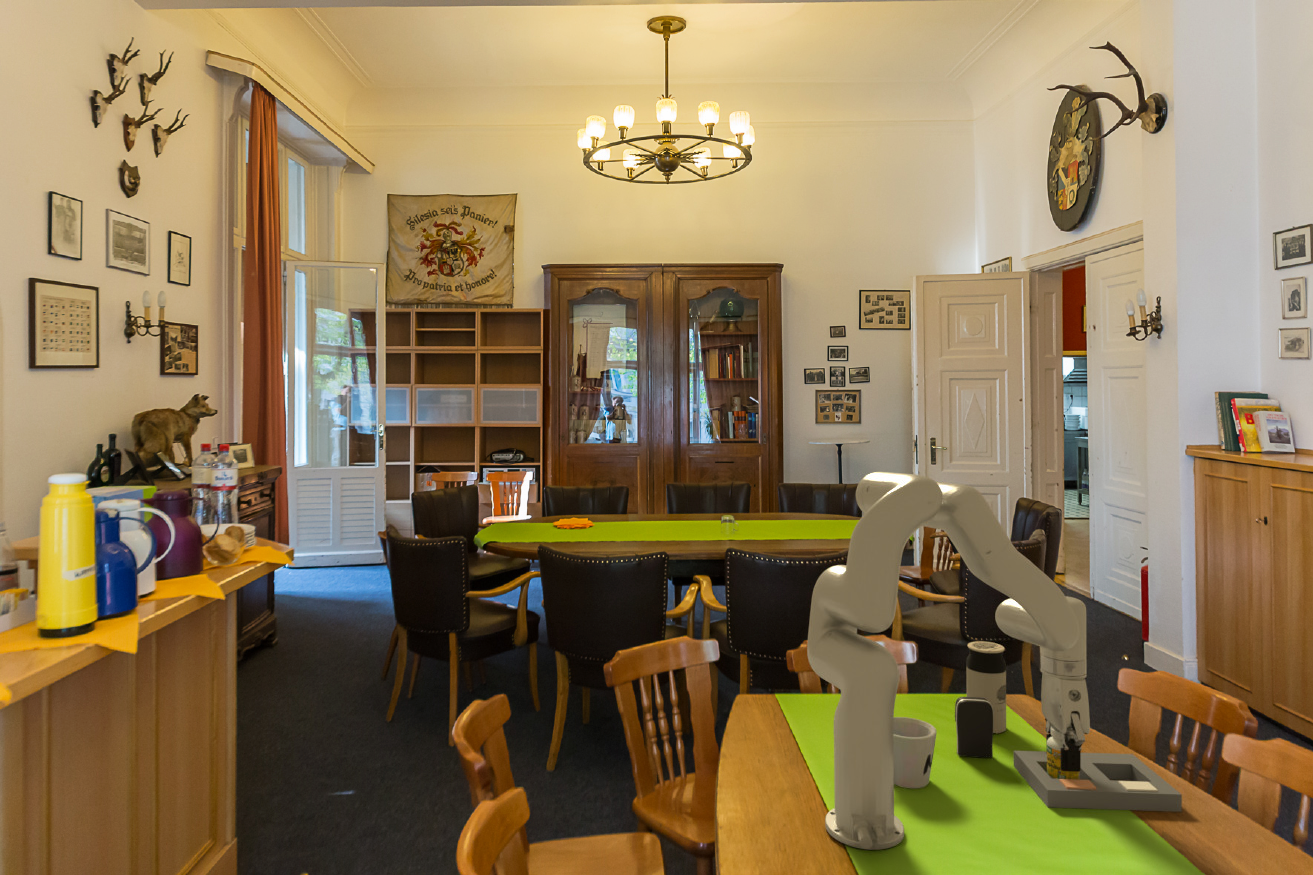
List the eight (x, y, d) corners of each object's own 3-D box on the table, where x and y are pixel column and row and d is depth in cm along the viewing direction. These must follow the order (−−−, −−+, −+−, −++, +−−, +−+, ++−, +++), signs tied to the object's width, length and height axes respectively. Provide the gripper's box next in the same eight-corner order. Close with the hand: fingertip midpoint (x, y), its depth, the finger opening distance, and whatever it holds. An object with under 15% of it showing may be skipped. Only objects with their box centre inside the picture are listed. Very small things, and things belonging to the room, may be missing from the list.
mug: (941, 795, 137) (941, 740, 137) (856, 788, 140) (855, 734, 140) (932, 769, 147) (932, 718, 147) (853, 763, 150) (852, 713, 150)
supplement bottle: (1086, 785, 138) (1086, 732, 138) (1063, 789, 136) (1063, 736, 136) (1062, 772, 143) (1062, 721, 143) (1040, 776, 142) (1040, 725, 141)
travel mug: (958, 724, 169) (958, 643, 169) (984, 717, 172) (984, 639, 172) (988, 737, 162) (987, 653, 162) (1014, 730, 165) (1014, 648, 165)
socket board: (1181, 811, 130) (1181, 792, 130) (1047, 807, 132) (1047, 788, 132) (1132, 769, 146) (1132, 752, 146) (1013, 765, 148) (1013, 749, 148)
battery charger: (989, 751, 155) (989, 695, 155) (994, 759, 151) (994, 702, 151) (953, 748, 156) (953, 693, 156) (957, 756, 153) (957, 700, 153)
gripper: (1107, 681, 131) (1107, 786, 131) (1064, 651, 148) (1064, 744, 148) (1061, 680, 131) (1061, 784, 132) (1023, 650, 148) (1023, 743, 149)
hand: (1063, 762), depth 140 cm, fingers closed on supplement bottle, 5 cm apart
